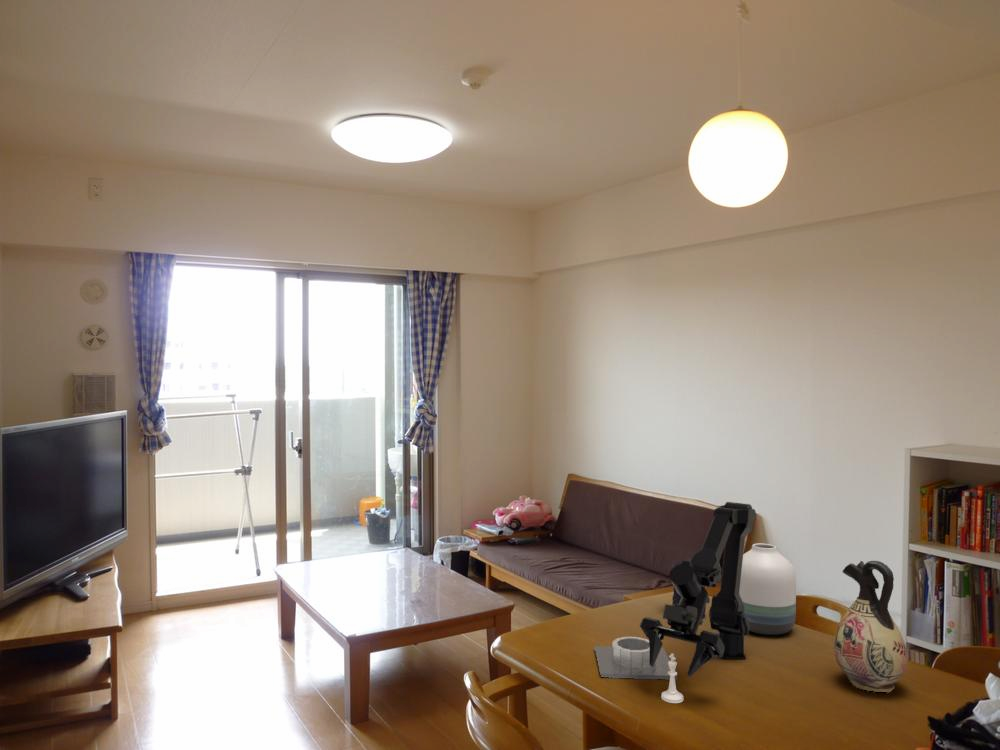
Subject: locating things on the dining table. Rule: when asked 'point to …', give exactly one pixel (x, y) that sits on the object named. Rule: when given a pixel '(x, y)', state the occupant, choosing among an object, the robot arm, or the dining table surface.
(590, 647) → the dining table surface
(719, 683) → the dining table surface
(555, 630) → the dining table surface
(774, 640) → the dining table surface
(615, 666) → the duct collar
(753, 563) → the vase
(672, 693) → the chess piece
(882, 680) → the ceramic jug
